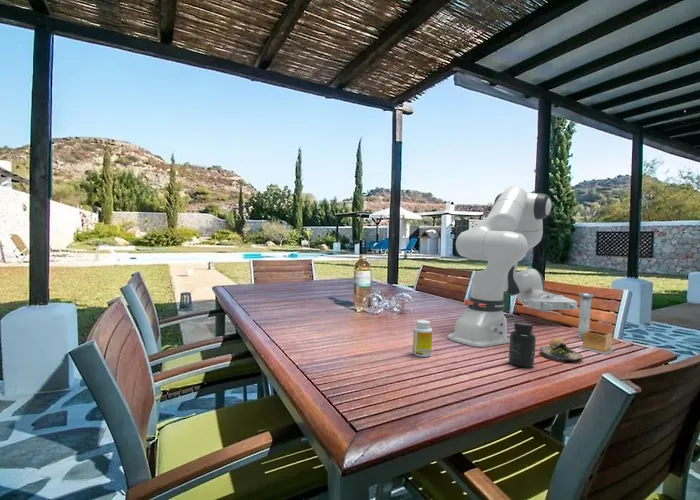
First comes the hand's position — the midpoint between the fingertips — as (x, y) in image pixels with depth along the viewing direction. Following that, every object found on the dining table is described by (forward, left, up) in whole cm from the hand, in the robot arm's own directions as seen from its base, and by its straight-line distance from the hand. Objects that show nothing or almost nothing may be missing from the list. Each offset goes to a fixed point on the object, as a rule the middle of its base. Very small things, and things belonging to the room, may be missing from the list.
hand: (563, 307), depth 152 cm
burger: (-39, -14, -10) cm, 42 cm away
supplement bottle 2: (-57, -10, -9) cm, 58 cm away
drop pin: (-7, -10, -9) cm, 15 cm away
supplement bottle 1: (-75, +12, -9) cm, 76 cm away
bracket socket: (-19, -18, -9) cm, 28 cm away
